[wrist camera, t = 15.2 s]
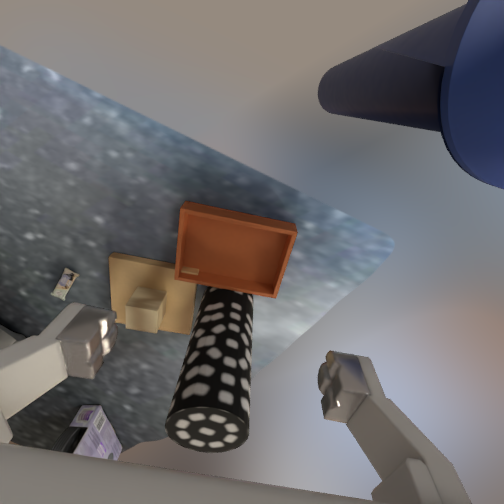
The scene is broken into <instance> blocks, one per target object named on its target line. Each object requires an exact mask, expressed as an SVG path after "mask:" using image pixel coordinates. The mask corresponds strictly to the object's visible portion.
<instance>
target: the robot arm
mask: <svg viewBox="0 0 504 504" xmlns="http://www.w3.org/2000/svg"><path fill="white" fill-rule="evenodd" d="M116 319H117V313H116V311H114V310H109V309H105V308H100V307H95V306H91V305H85V304H80V303H75V302H73V303H71V304H69V305H68V306H67V307H66V308H65V309H64V310H63V311H62V312H61V313H60V314H59V315H58V316H57V317H56V318H55V319H54V320H53V321H52V322H51V323H50V324H49V325H48V326H47V327H46V328H45V329H44V330H43V331H42V332H41V333H40V334H39V335H38V336H35V335H33V336H31V337H28V338H26V339H24V340H22V341H19V342H17V343H15V344H12V345H10V346H8V347H6V348H3V349H1V350H0V504H472V503H471V501H470V499H469V497H468V495H467V493H466V491H465V489H464V487H463V485H462V483H461V481H460V479H459V477H458V475H457V473H456V471H455V469H454V466H453V464H452V463H451V462H450V461H449V460H448V459H447V458H446V457H445V456H444V455H443V454H442V453H441V452H440V451H439V450H438V449H437V448H436V447H435V446H434V445H433V443H432V442H431V441H430V440H429V439H428V438H427V437H426V436H425V435H424V434H423V433H422V432H421V431H420V430H419V429H418V428H417V427H416V426H415V425H414V424H413V423H412V422H411V420H410V419H409V418H407V416H406V415H405V414H404V413H403V412H402V411H401V410H400V409H399V408H398V407H397V406H396V405H395V404H394V403H393V402H392V401H391V400H390V399H388V398H386V397H385V394H384V392H383V389H382V387H381V384H380V382H379V379H378V377H377V374H376V372H375V369H374V367H373V364H372V362H371V360H370V359H369V358H368V357H364V356H358V355H353V354H347V353H341V352H336V351H329V352H328V353H327V355H326V362H325V363H323V364H322V365H321V366H320V369H319V373H318V386H319V390H320V391H321V393H322V394H323V395H324V396H323V398H322V400H321V404H322V410H323V415H324V419H327V420H332V421H337V422H342V423H347V424H346V425H347V427H348V428H349V430H350V431H351V433H352V434H353V436H354V437H355V439H356V440H357V442H358V444H359V445H360V447H361V448H362V450H363V451H364V453H365V454H366V456H367V457H368V459H369V461H370V462H371V464H372V465H373V467H374V468H375V470H376V471H377V473H378V475H379V476H380V478H381V479H382V482H381V483H380V484H379V485H378V486H377V487H376V488H375V489H374V490H373V491H372V493H371V494H372V498H373V501H371V500H365V499H359V498H352V497H346V496H339V495H333V494H327V493H320V492H313V491H308V490H301V489H294V488H288V487H282V486H275V485H269V484H263V483H257V482H250V481H243V480H237V479H231V478H225V477H218V476H212V475H205V474H199V473H193V472H186V471H180V470H174V469H167V468H161V467H154V466H148V465H141V464H135V463H129V462H122V461H116V460H110V459H103V458H97V457H90V456H84V455H78V454H71V453H65V452H58V451H52V450H46V449H39V448H33V447H26V446H20V445H13V444H8V443H9V441H10V440H11V439H12V437H13V435H12V431H11V429H10V427H9V425H8V423H7V421H6V420H7V419H8V418H10V417H11V416H12V415H14V414H15V413H17V412H18V411H20V410H21V409H23V408H24V407H25V406H27V405H28V404H30V403H31V402H33V401H34V400H35V399H37V398H38V397H40V396H41V395H43V394H44V393H46V392H47V391H48V390H50V389H51V388H53V387H54V386H56V385H57V384H58V383H60V382H61V381H63V380H64V379H66V378H67V377H68V376H74V377H81V378H88V379H94V377H95V375H96V374H97V372H98V371H99V369H100V367H101V366H102V364H103V363H104V362H103V356H104V355H106V354H108V353H109V352H110V351H111V350H112V348H113V346H114V344H115V342H116V339H117V335H118V326H117V325H116V324H115V323H114V322H115V321H116Z"/></svg>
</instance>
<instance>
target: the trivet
mask: <svg viewBox="0 0 504 504" xmlns="http://www.w3.org/2000/svg"><path fill="white" fill-rule="evenodd" d="M181 272H182V273H188V274H193V275H198V273H199V269H195V268H190V267H185V266H183V267H182V269H181ZM109 273H110V289H111V305H112V310H114V311H116V313H117V319H116V321H115V322H117V323H123V324H126V313H125V305H126V304H127V302H128V301H129V299H130V298H131V296H132V295H133V293H134V292H135V290H136V289H137V287H138V286H139V287H145V288H150V289H156V290H161V291H167V301H166V313H165V315H164V318H163V320H162V322H161V324H160V327H159V329H158V330H164V331H170V332H176V333H182V334H187V335H189V334H190V331H191V327H192V320H193V313H194V306H195V299H196V291H197V284H195V283H190V282H184V281H179V280H174V275H175V264H174V263H168V262H163V261H158V260H153V259H147V258H142V257H137V256H132V255H126V254H121V253H116V252H113V253H112V254H111V255H110V256H109Z"/></svg>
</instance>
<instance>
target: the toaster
mask: <svg viewBox="0 0 504 504" xmlns="http://www.w3.org/2000/svg"><path fill="white" fill-rule="evenodd" d="M24 339H26V337H25V336H24V335H22V334H17V333H14V332H12V331H10V330H9V329H7V328H5V327H4V326H2V325H0V350H1V349H3V348H6V347H8V346H10V345H12V344H15V343H17V342H19V341H22V340H24Z"/></svg>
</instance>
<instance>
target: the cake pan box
mask: <svg viewBox="0 0 504 504" xmlns="http://www.w3.org/2000/svg"><path fill="white" fill-rule="evenodd" d="M51 450H52V451H58V452H65V453H71V454H78V455H84V456H90V457H97V458H103V459H110V460H116V461H117V459H118V457H119V455H120V453H121V450H122V445H121V444H120V442H119V440H118V438H117V436H116V434H115V430H114V429H113V426H112V425H111V423H110V422H109V421H108V419H107V417H106V415H105V413H104V411H103V409H102V407H101V405H82V406H81V408H80V409H79V411H78V413H77V414H76V416H75V417H74V419H73V421H72V422H71V424H70V426H69V427H68V428H67V429H66V430H65V431H64V432H63V433H62V434H61V436H60V437H59V438H58V440H57V441H56V443H55V444H54V446H53V447H52V449H51Z"/></svg>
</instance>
